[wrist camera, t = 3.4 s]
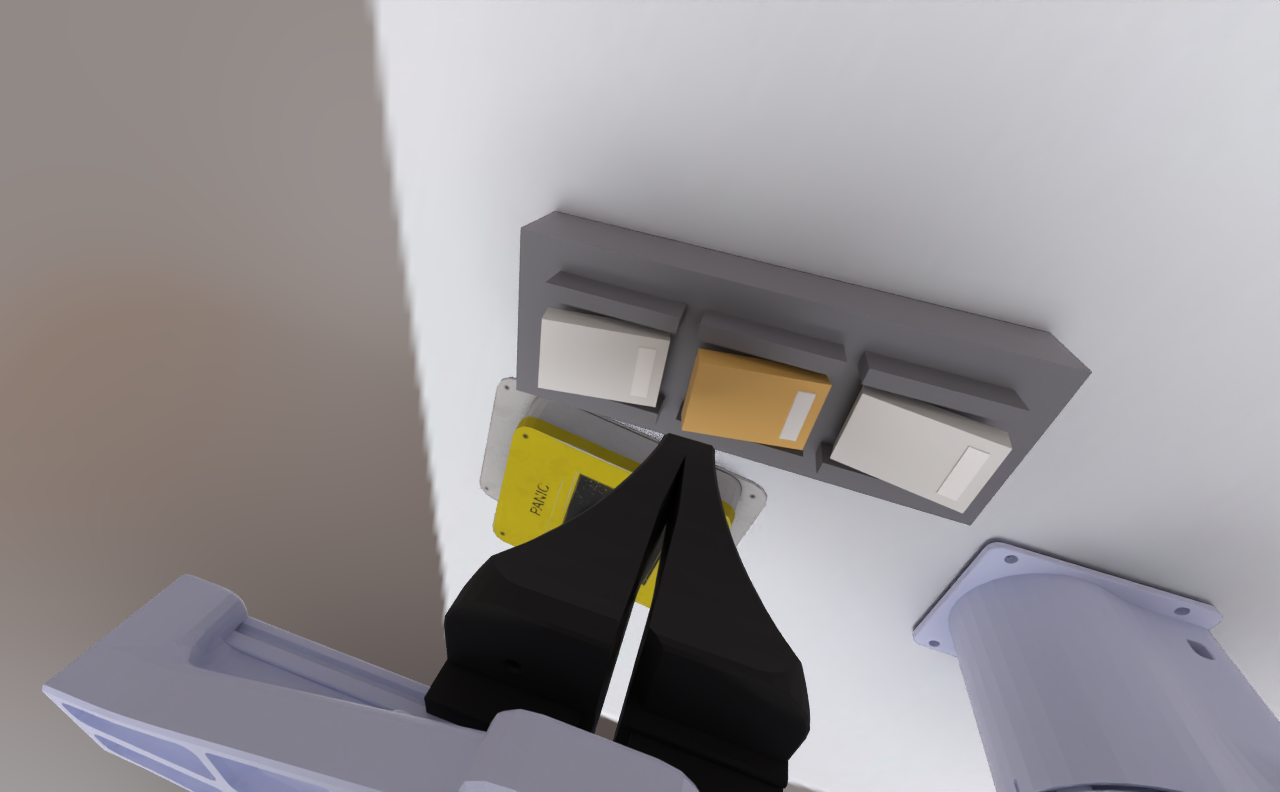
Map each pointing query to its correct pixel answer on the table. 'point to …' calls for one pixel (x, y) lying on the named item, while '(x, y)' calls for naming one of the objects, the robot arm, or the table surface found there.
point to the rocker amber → (753, 399)
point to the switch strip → (791, 344)
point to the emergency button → (576, 470)
